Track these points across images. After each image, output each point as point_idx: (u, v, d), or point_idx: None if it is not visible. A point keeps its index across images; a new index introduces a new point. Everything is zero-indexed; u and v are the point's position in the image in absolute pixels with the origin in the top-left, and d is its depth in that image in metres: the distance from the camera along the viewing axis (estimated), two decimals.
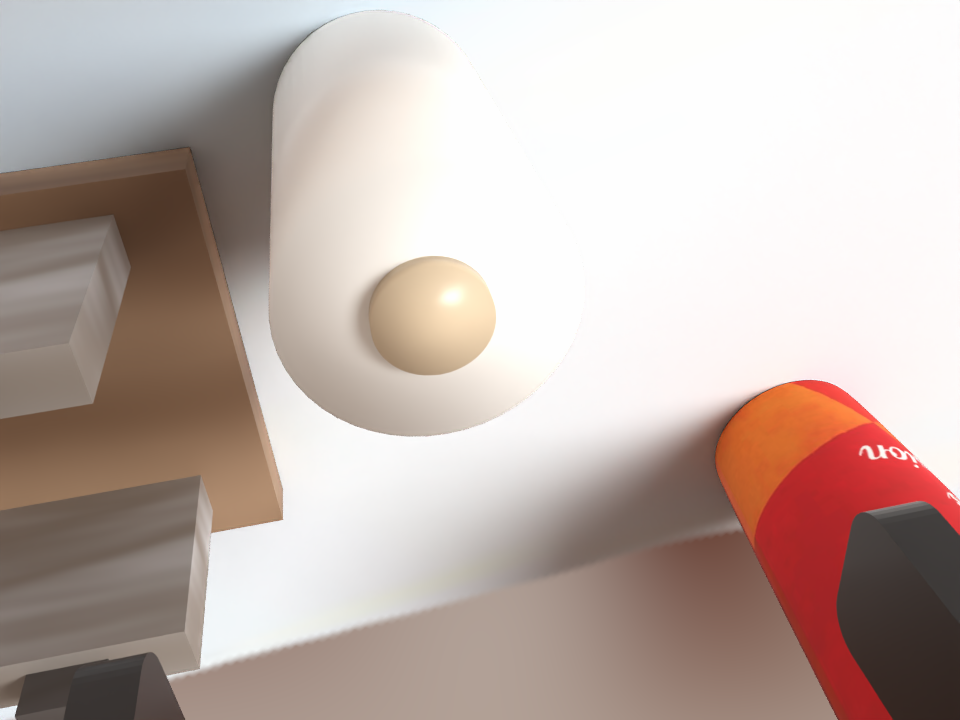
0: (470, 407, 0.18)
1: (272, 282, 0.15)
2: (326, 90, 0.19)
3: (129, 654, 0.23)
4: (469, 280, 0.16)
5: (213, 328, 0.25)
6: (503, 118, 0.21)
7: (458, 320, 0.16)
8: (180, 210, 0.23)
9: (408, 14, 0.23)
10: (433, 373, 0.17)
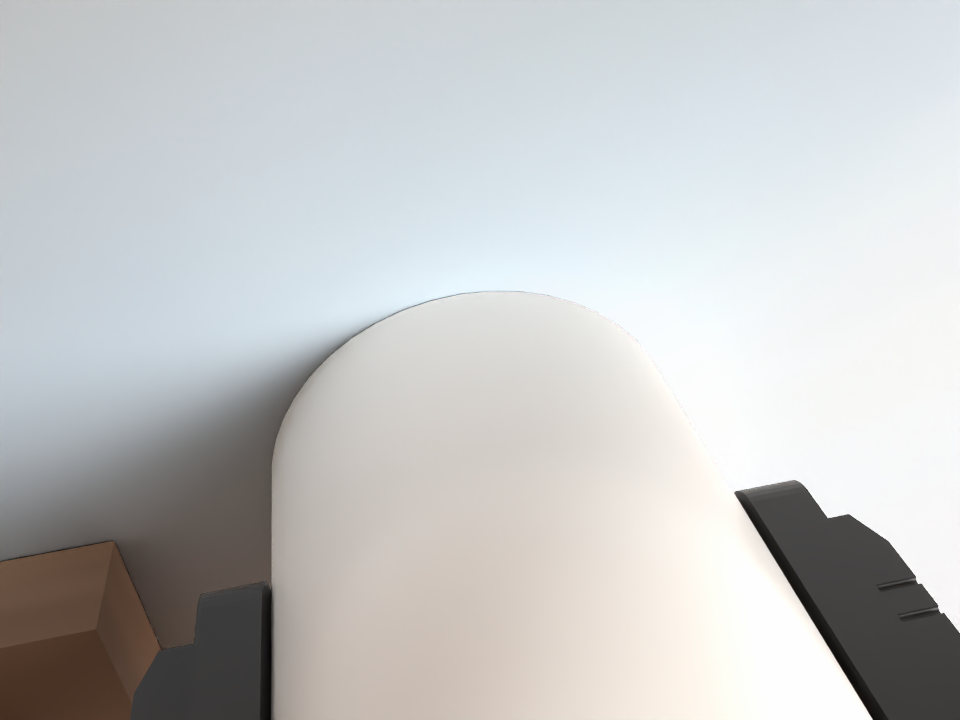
0: None
1: None
2: (417, 654, 0.07)
3: None
4: None
5: None
6: None
7: None
8: (91, 690, 0.12)
9: (548, 297, 0.11)
10: None
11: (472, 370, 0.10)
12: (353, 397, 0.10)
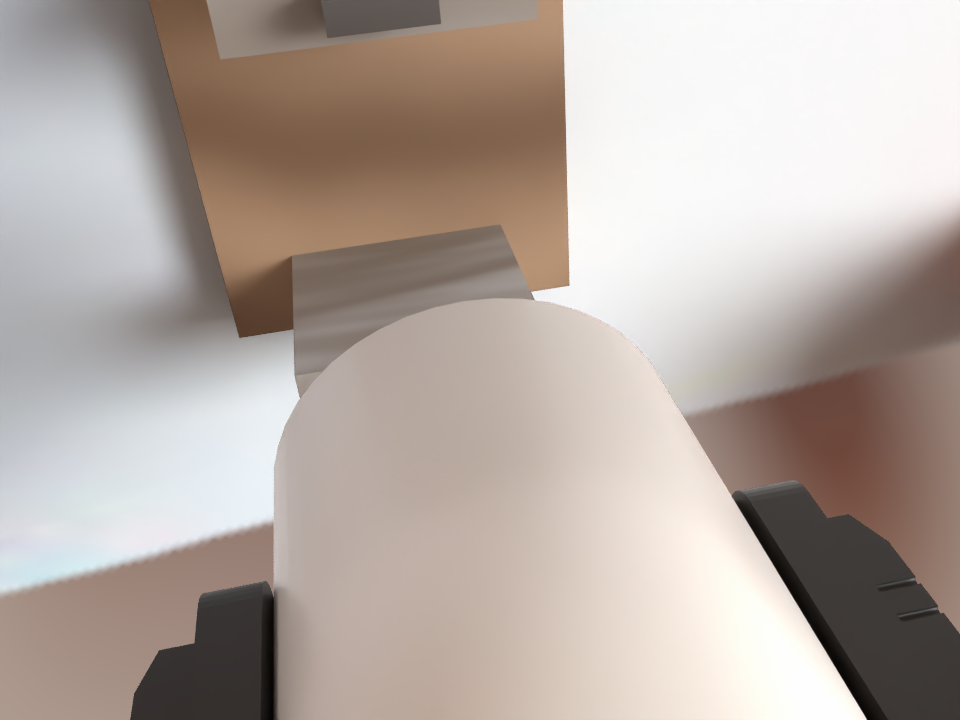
0: None
1: None
2: (420, 662, 0.07)
3: None
4: None
5: (547, 41, 0.24)
6: None
7: None
8: None
9: (549, 304, 0.11)
10: None
11: (474, 377, 0.10)
12: (355, 404, 0.10)
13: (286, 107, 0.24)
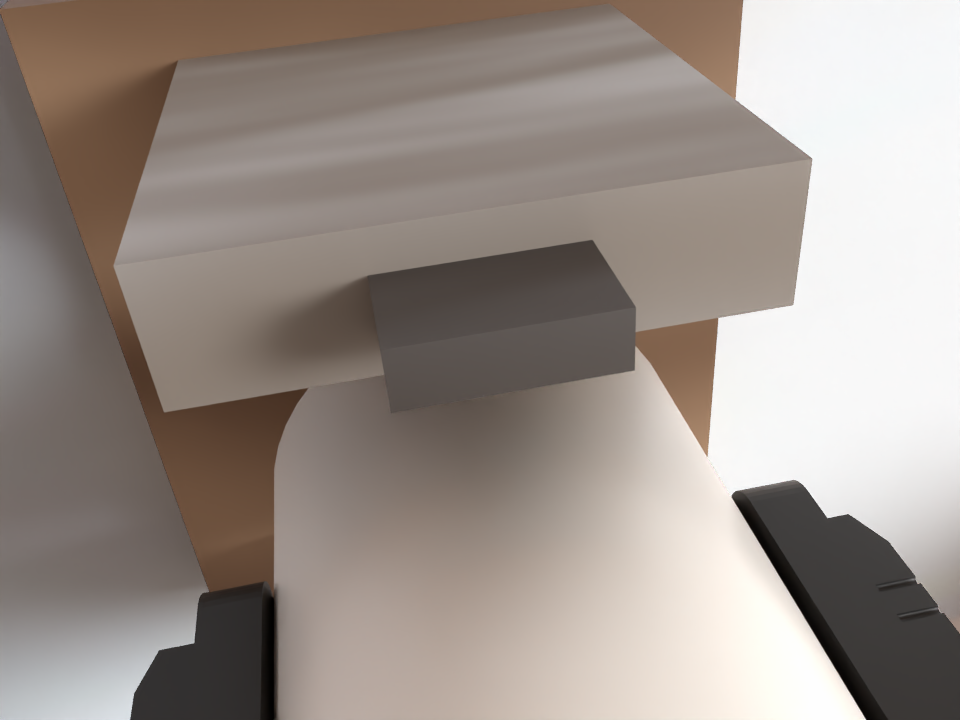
0: None
1: None
2: (419, 661, 0.07)
3: None
4: None
5: None
6: None
7: None
8: (717, 0, 0.13)
9: None
10: None
11: None
12: (355, 404, 0.10)
13: None
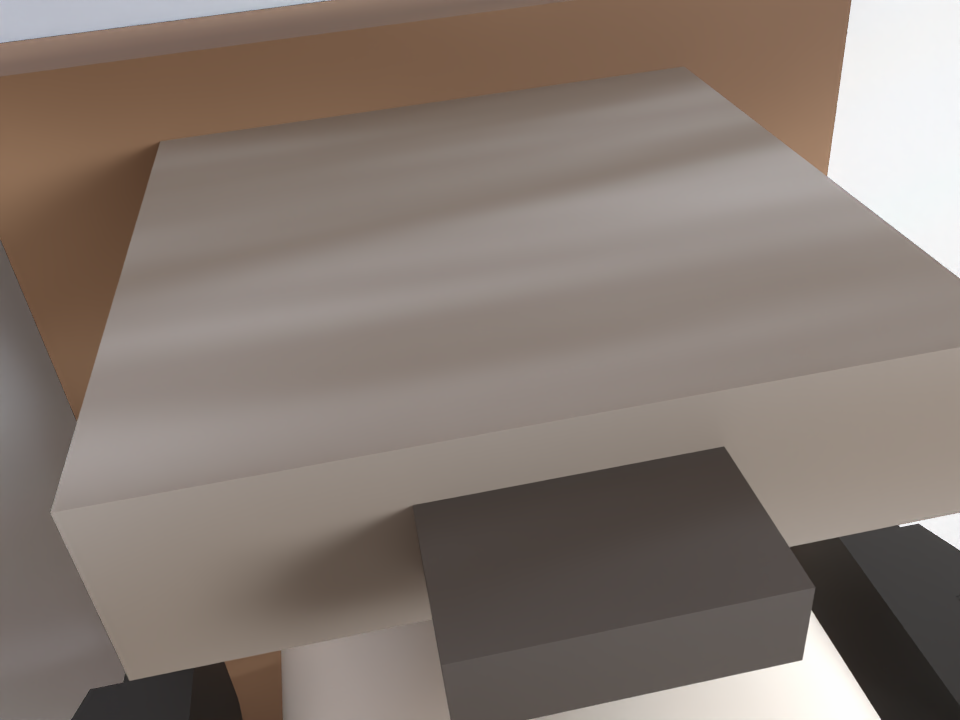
0: None
1: None
2: None
3: None
4: None
5: None
6: None
7: None
8: (812, 61, 0.11)
9: None
10: None
11: None
12: None
13: None
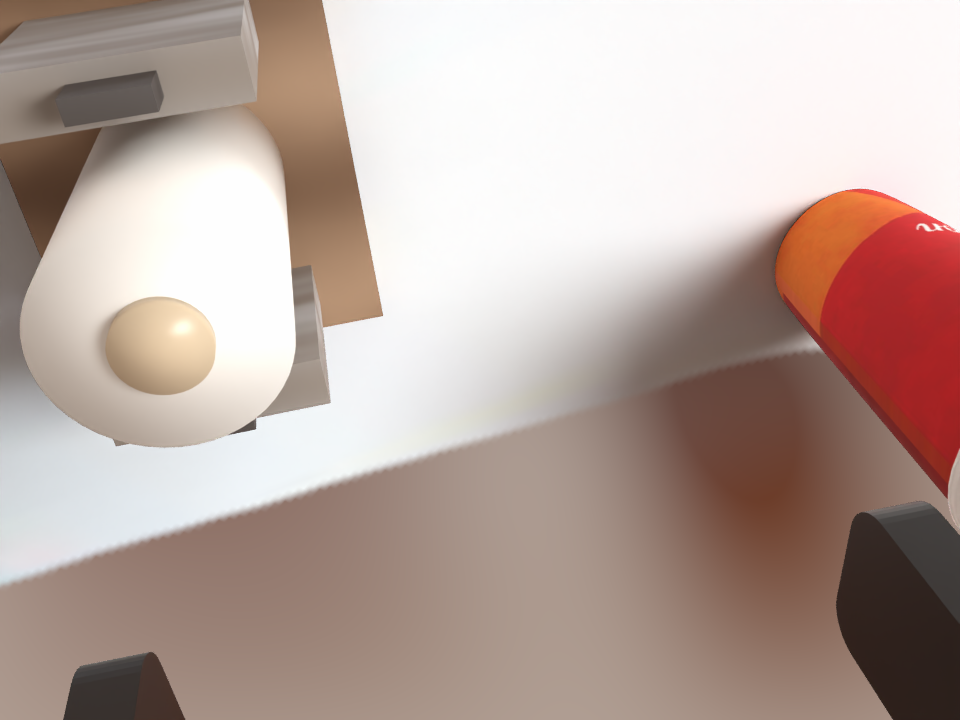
0: (213, 421, 0.21)
1: (20, 321, 0.19)
2: (101, 158, 0.22)
3: None
4: (184, 315, 0.19)
5: (328, 108, 0.28)
6: (268, 176, 0.24)
7: (182, 348, 0.19)
8: None
9: None
10: (168, 393, 0.20)
11: None
12: None
13: None
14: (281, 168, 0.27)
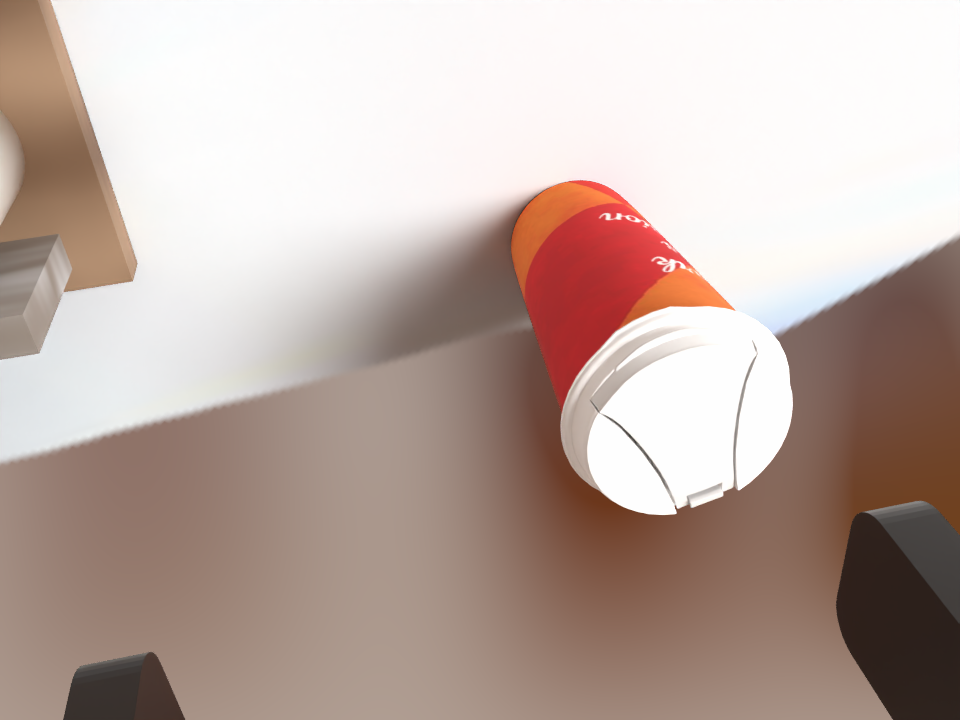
0: None
1: None
2: None
3: None
4: None
5: (56, 95, 0.32)
6: None
7: None
8: None
9: None
10: None
11: None
12: None
13: None
14: (10, 148, 0.31)
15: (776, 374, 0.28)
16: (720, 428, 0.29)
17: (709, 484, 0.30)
